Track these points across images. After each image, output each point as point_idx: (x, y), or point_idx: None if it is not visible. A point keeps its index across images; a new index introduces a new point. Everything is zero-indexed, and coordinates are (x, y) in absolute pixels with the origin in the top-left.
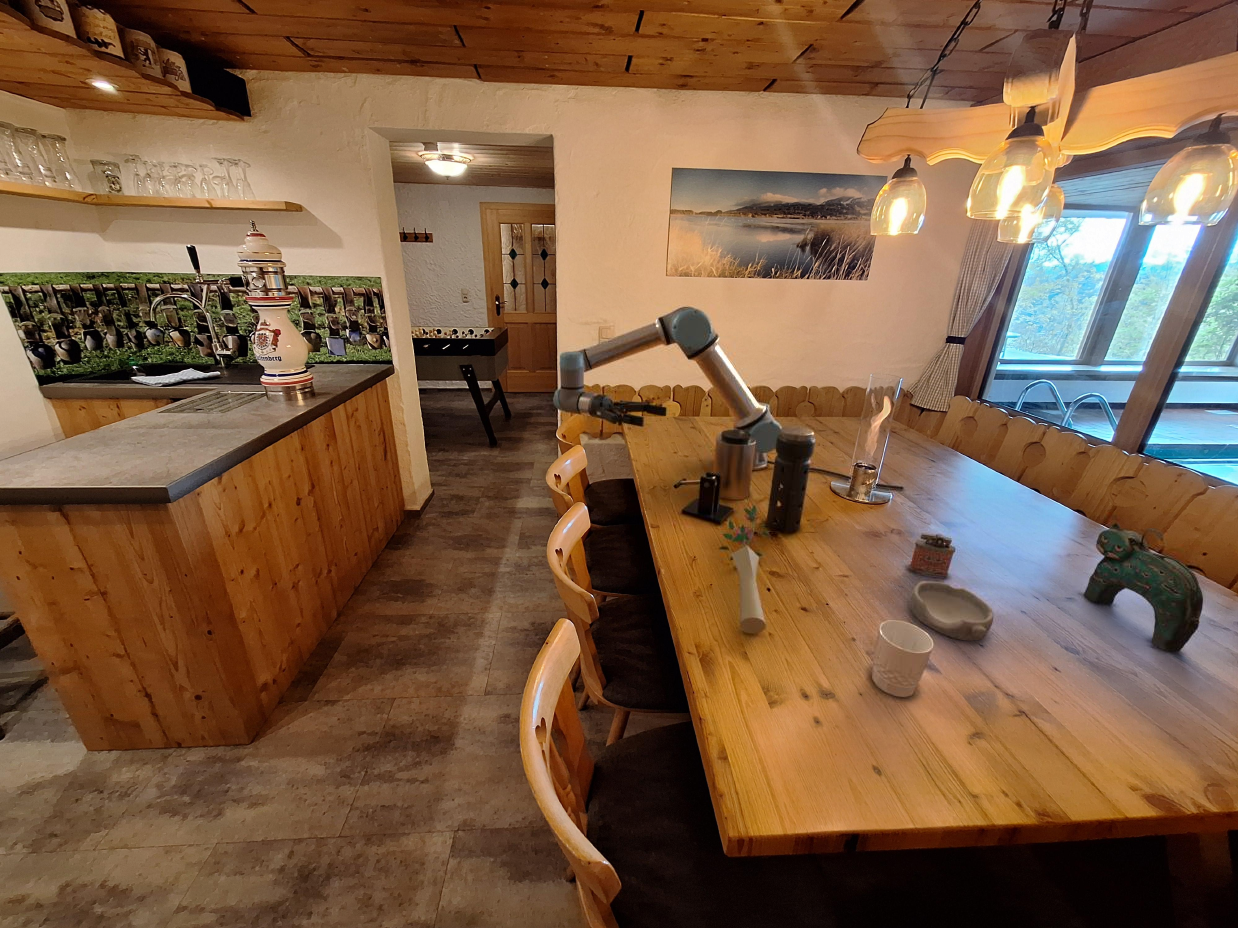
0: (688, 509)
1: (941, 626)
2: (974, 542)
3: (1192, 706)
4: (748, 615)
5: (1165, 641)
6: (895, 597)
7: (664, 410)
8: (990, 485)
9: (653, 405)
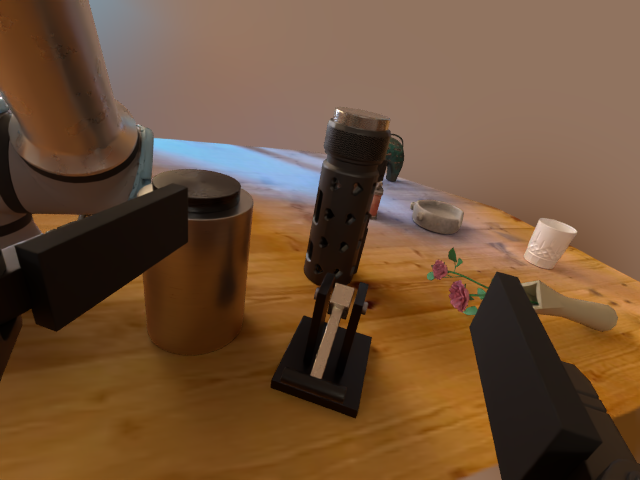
0: (349, 395)
1: (460, 225)
2: (298, 183)
3: (437, 192)
4: (613, 311)
5: (396, 176)
6: (426, 236)
7: (184, 207)
8: (167, 144)
9: (98, 220)
